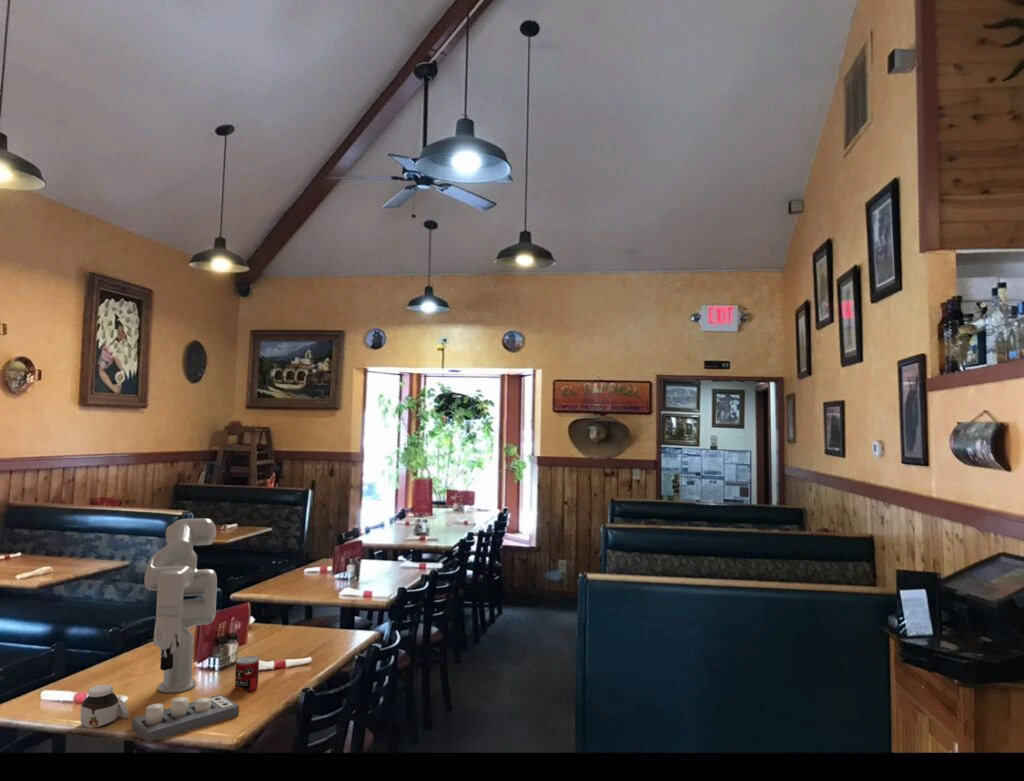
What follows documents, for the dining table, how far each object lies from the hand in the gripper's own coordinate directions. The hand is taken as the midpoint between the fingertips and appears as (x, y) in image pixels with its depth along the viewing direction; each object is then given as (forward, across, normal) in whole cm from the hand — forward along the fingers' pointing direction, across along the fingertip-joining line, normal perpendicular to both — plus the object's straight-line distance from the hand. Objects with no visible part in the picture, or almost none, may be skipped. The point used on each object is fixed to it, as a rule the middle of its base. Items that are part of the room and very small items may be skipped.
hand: (166, 668), depth 211 cm
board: (+20, 0, +7) cm, 21 cm away
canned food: (+19, -14, +35) cm, 42 cm away
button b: (+16, 0, +5) cm, 17 cm away
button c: (+16, -1, -3) cm, 16 cm away
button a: (+18, 0, +12) cm, 22 cm away
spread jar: (+20, -20, -10) cm, 30 cm away
